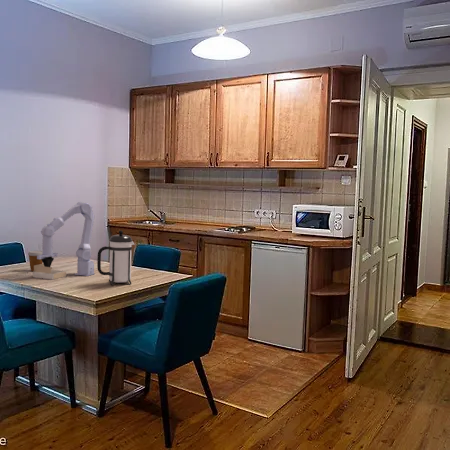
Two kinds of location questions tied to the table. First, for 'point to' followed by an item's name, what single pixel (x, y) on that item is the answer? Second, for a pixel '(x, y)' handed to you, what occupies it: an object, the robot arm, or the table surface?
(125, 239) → the coffee press
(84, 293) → the table surface
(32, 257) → the disposable coffee cup
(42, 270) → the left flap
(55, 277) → the carton
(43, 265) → the far flap
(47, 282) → the table surface
